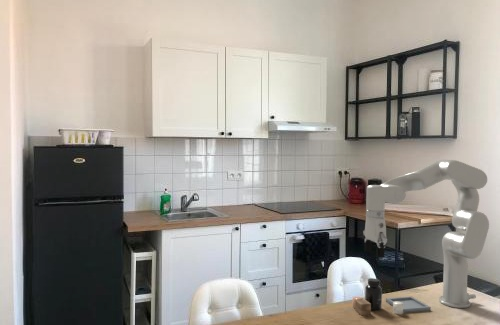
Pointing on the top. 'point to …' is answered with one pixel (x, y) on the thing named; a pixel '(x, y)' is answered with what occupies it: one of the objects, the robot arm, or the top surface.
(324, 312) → the top surface
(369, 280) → the supplement bottle
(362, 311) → the walnut block
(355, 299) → the peach rounded dome
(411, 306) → the tray
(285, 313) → the top surface
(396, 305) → the white egg
